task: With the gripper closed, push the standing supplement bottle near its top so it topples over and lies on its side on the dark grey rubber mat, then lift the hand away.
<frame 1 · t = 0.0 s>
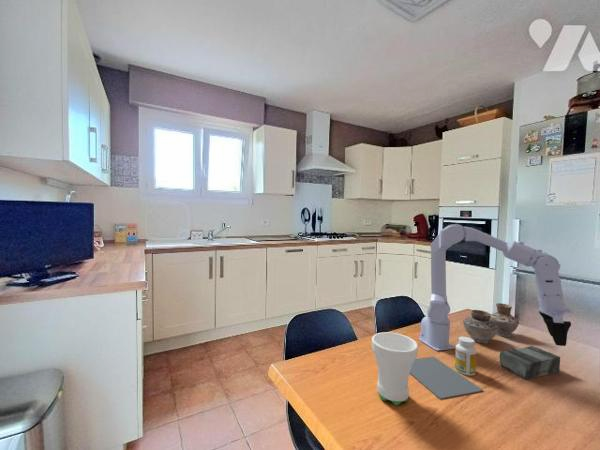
hand: (557, 340, 81), 11 cm above the table, tool pointing down, fingers open, 7 cm apart
pottery: (490, 338, 107), on the table
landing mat: (436, 375, 80), on the table
supplement bottle: (465, 371, 82), on the table
cup: (392, 396, 70), on the table
stone block: (526, 369, 85), on the table
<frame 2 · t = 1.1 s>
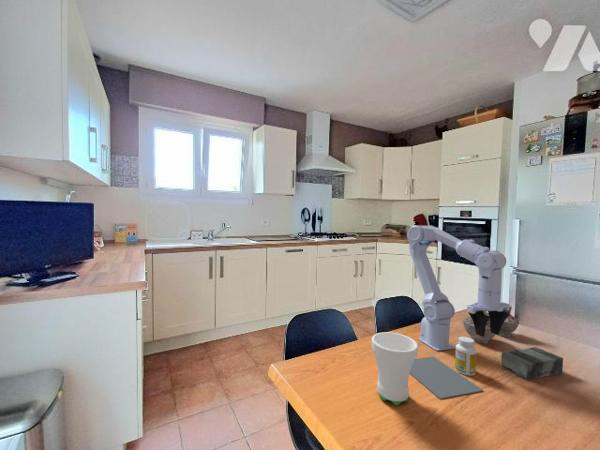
hand: (487, 334, 84), 10 cm above the table, tool pointing down, fingers open, 5 cm apart
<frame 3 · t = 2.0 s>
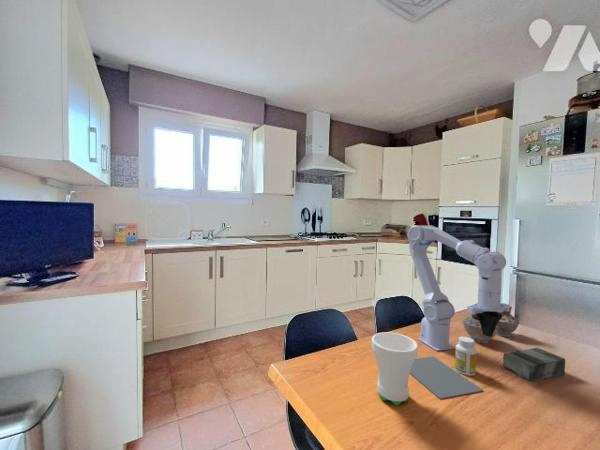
hand: (487, 335, 84), 10 cm above the table, tool pointing down, fingers closed
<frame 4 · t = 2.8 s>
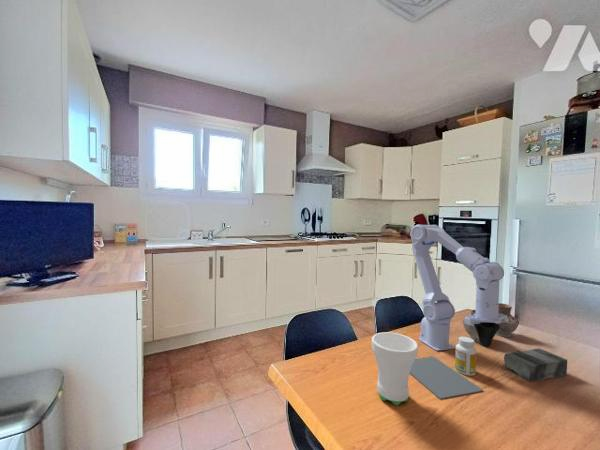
hand: (484, 345, 84), 7 cm above the table, tool pointing down, fingers closed
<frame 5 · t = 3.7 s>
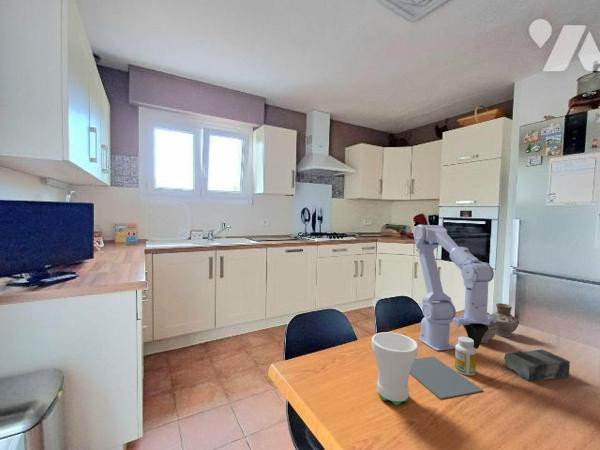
hand: (474, 347, 83), 7 cm above the table, tool pointing down, fingers closed, pressing on supplement bottle
supplement bottle: (465, 371, 82), on the table, touching gripper
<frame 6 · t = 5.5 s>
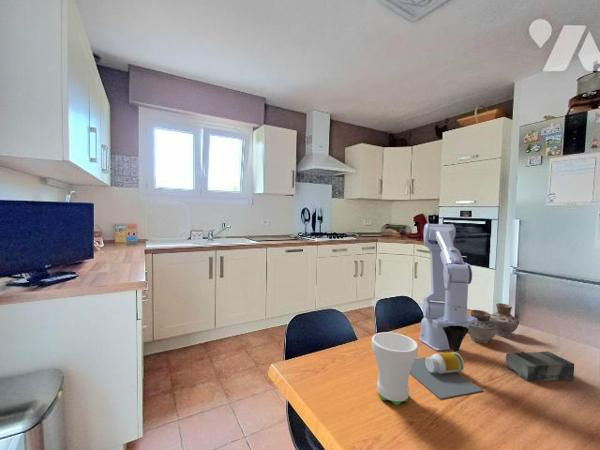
hand: (453, 349, 81), 7 cm above the table, tool pointing down, fingers closed
supplement bottle: (458, 361, 82), point 3 cm above the table, touching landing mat
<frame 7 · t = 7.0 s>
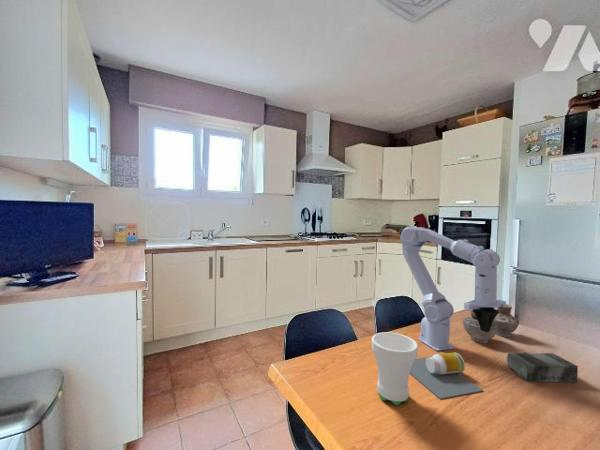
hand: (484, 330, 87), 10 cm above the table, tool pointing down, fingers closed
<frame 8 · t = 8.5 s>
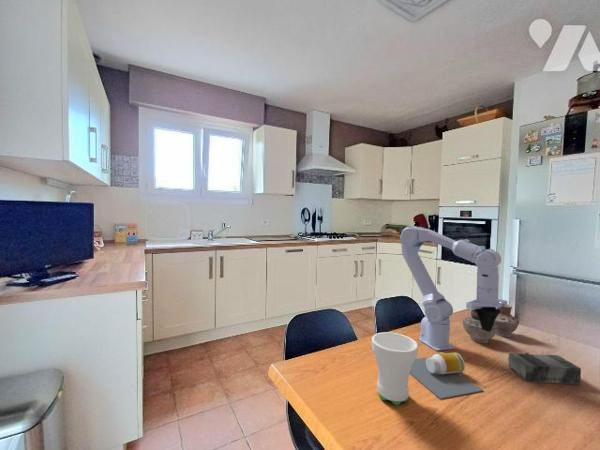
hand: (486, 330, 87), 10 cm above the table, tool pointing down, fingers closed
at the end: supplement bottle tilted 90°; supplement bottle touching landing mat; supplement bottle inside the target area (6.1 cm from its centre), point 3.0 cm above the table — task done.
